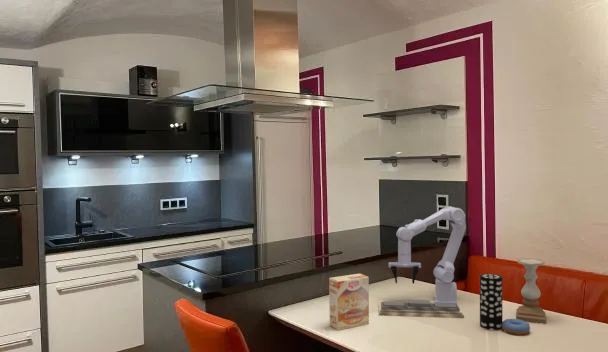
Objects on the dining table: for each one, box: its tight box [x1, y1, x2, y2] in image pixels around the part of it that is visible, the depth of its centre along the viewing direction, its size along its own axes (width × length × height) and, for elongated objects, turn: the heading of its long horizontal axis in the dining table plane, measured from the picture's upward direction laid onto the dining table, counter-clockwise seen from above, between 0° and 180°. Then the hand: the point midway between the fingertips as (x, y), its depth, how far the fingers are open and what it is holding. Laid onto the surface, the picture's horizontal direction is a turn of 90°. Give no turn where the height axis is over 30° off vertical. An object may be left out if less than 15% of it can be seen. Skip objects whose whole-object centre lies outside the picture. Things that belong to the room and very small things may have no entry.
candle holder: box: [515, 257, 547, 325], centre depth 198 cm, size 11×11×24 cm
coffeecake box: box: [328, 273, 370, 331], centre depth 194 cm, size 15×7×20 cm, turn 117°
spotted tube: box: [479, 273, 503, 331], centre depth 189 cm, size 8×8×20 cm
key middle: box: [408, 299, 431, 307], centre depth 209 cm, size 9×5×2 cm, turn 82°
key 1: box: [382, 301, 405, 307], centre depth 211 cm, size 9×5×2 cm, turn 82°
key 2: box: [433, 302, 457, 308], centre depth 208 cm, size 9×5×2 cm, turn 82°
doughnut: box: [501, 318, 531, 336], centre depth 184 cm, size 10×10×5 cm
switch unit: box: [378, 301, 465, 319], centre depth 210 cm, size 35×15×3 cm, turn 82°
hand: (404, 282), depth 221 cm, fingers open, 7 cm apart
